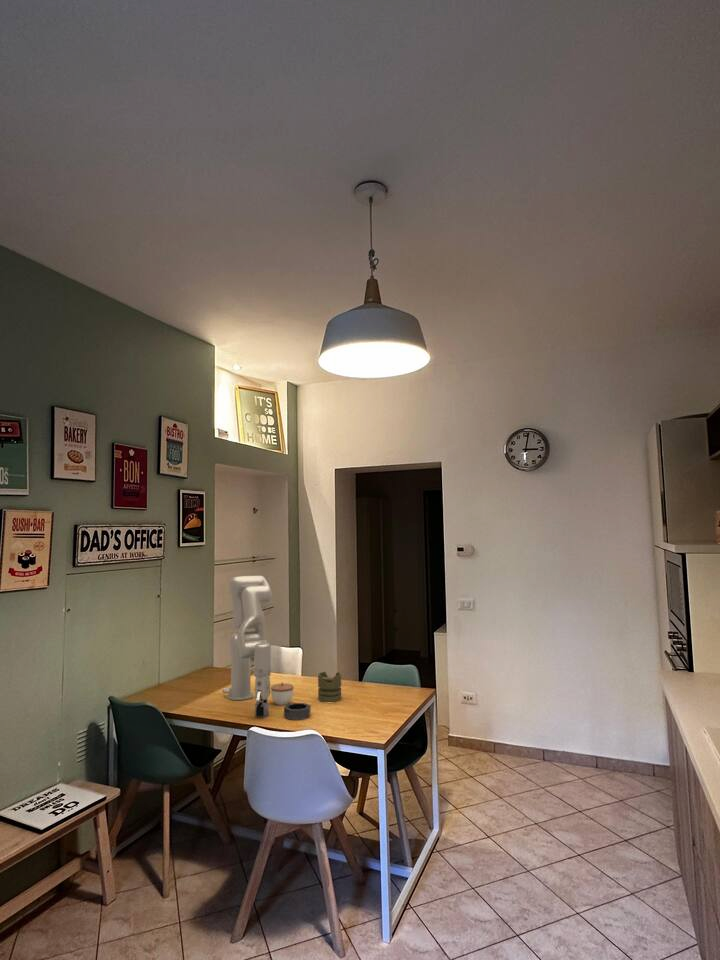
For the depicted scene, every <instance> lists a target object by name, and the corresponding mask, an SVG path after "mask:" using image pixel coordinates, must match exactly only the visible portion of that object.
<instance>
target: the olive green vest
mask: <svg viewBox="0 0 720 960" xmlns="http://www.w3.org/2000/svg"><path fill="white" fill-rule="evenodd" d="M317 687H318V689H317V692H318V695H317V698H318V699H317V701H318V700H319V701H318V702H321V703H324V702H334V703H338V702H341V701H340V700H342V688H341V687H342V672H339V671H336V673H335V675H334V676H328V675H327V673H326V671H323V672H319V673H318V674H317ZM337 701H338V702H337Z"/></svg>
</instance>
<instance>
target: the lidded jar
mask: <svg viewBox="0 0 720 960" xmlns="http://www.w3.org/2000/svg"><path fill="white" fill-rule="evenodd" d="M270 695H271V698H272V701H273V702H274V703H275V705H277V706H284V705H285V706H286V705H288V704H290V702H291V701H292V699H293V697H294V685H293V684H291V683H284V682H281V683H277V684H273V685H271V686H270Z"/></svg>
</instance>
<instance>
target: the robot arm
mask: <svg viewBox="0 0 720 960" xmlns="http://www.w3.org/2000/svg"><path fill="white" fill-rule="evenodd" d="M229 592H230V596H231V598H232V599H231V600H232V622H233V623H232V624H233V628H234V629H237V630H238V632H235V633H233V634H231V636H230V638H229V646H230V657H231V660H230V661H231V663H230V664H231V667H230V669H231V670H230V687H229V688H228V687H223V688H222V693H223V694H227V698H228V699H229V700H230V701H245V700H246V701H247V700H249V699H253V697H254V699H255V701H256V702H255V704H256V716H264V706H263V702H267V703H268V698H269V697H270V695H271V671H272V651H271V650H272V646H271V643H269V642H268V640H266V619H265V617H266V615H265V613H264V611H263V609H262V604H269V603H271V601H272V598H273V591H272V588H271V585H270V584H269V583H268V580H267V579H266V578H265V577H264V576H263V575H241V576H234V577H232V578H231V579H230V581H229ZM247 629H254V630H247ZM246 630H247V631H246ZM251 659H253V677H255V681H254V692H252V691H251V683H252V682H251V672H252V671H251V670H252V669H251V667H252V665H251V664H252V663H251ZM261 702H262V703H261Z"/></svg>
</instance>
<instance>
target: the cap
mask: <svg viewBox="0 0 720 960" xmlns="http://www.w3.org/2000/svg"><path fill="white" fill-rule="evenodd" d="M260 702H261V701H260ZM261 703H262V702H261ZM263 706H264V716H256V703H255V704H254V707H255V708H254V717H256V719H257V718H258V719H261V718H262V719H264V718H267V717H269V716H270V715H269V714H270V713H269V712H270V703H269V702H268V701H267V702H263Z"/></svg>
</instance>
